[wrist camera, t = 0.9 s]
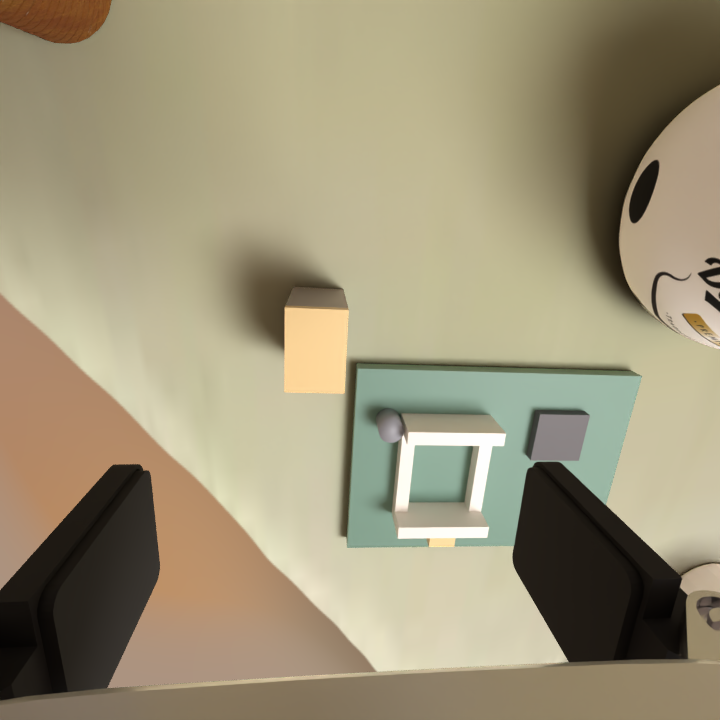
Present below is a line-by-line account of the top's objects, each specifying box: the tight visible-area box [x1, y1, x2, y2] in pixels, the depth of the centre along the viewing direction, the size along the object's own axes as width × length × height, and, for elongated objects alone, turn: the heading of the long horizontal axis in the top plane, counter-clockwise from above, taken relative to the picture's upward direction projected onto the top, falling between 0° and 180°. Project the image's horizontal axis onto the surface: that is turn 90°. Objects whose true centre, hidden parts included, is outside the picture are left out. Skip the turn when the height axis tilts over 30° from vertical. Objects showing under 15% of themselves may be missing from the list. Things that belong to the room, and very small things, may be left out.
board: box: [347, 363, 642, 548], centre depth 34 cm, size 16×22×4 cm
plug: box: [284, 287, 349, 394], centre depth 28 cm, size 6×4×7 cm, turn 177°
